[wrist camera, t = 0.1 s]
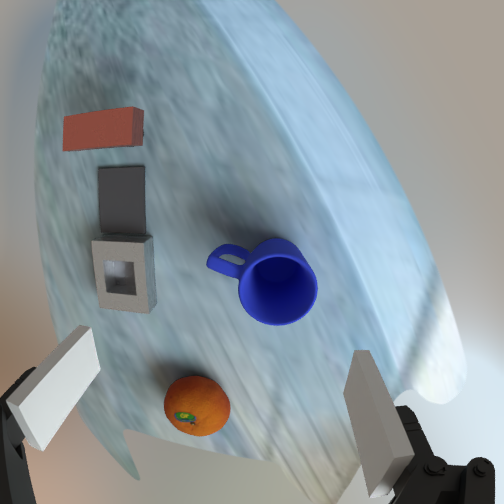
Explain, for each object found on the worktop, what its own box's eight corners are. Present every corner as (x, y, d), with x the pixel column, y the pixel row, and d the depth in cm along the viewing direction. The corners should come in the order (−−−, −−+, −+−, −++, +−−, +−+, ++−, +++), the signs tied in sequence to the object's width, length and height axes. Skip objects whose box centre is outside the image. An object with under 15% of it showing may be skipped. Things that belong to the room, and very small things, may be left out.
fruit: (242, 404, 49) (238, 438, 42) (190, 416, 51) (181, 448, 43) (213, 358, 47) (204, 391, 39) (159, 374, 49) (145, 405, 41)
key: (104, 123, 38) (64, 116, 28) (163, 117, 37) (133, 106, 28) (103, 151, 39) (62, 151, 29) (162, 147, 38) (131, 144, 29)
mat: (100, 168, 40) (98, 169, 39) (144, 166, 39) (143, 166, 39) (102, 231, 42) (100, 232, 42) (146, 232, 42) (144, 233, 41)
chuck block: (103, 234, 42) (91, 240, 39) (152, 236, 42) (143, 243, 39) (109, 298, 45) (99, 307, 42) (157, 303, 45) (149, 313, 41)
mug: (230, 210, 40) (218, 226, 31) (317, 244, 41) (331, 270, 31) (209, 267, 43) (193, 297, 33) (292, 298, 43) (297, 335, 34)
